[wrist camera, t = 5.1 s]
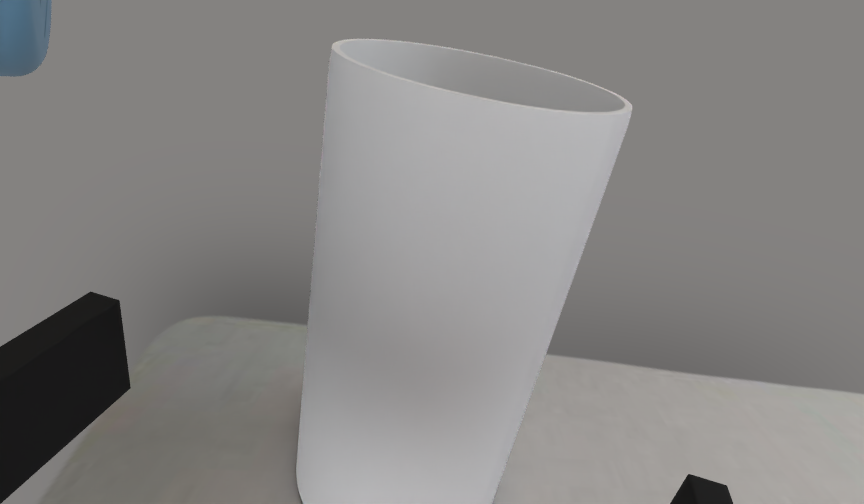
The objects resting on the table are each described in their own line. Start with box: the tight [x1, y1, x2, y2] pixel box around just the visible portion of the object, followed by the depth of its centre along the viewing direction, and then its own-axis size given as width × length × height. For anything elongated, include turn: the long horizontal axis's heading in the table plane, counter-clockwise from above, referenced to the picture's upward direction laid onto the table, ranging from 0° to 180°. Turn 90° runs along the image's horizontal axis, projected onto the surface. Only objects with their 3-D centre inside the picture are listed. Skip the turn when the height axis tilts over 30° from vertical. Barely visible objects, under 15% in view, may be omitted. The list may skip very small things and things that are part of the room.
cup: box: [296, 39, 632, 504], centre depth 18 cm, size 8×8×16 cm
